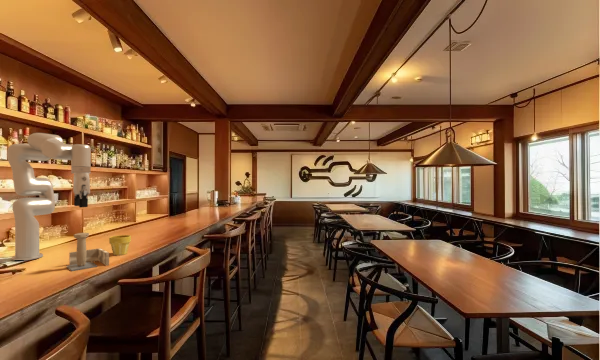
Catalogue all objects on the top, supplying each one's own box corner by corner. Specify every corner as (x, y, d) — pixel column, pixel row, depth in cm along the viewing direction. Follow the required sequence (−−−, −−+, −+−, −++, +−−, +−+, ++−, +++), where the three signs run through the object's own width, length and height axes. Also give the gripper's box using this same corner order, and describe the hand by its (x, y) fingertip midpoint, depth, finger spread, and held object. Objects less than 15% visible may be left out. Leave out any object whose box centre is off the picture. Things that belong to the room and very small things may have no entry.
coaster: (66, 267, 145) (66, 265, 145) (91, 262, 152) (91, 261, 152) (71, 271, 138) (71, 270, 138) (97, 266, 145) (97, 265, 145)
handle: (71, 267, 142) (71, 235, 142) (81, 263, 148) (81, 232, 148) (81, 267, 142) (81, 235, 142) (91, 263, 148) (91, 232, 148)
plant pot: (119, 251, 177) (119, 234, 177) (135, 252, 175) (135, 235, 175) (104, 255, 167) (104, 237, 167) (121, 256, 164) (121, 238, 164)
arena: (69, 264, 148) (69, 252, 148) (100, 259, 158) (100, 248, 158) (76, 270, 139) (76, 257, 139) (109, 265, 148) (109, 252, 148)
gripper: (95, 170, 143) (95, 207, 143) (85, 170, 155) (85, 204, 155) (75, 170, 137) (75, 208, 137) (67, 170, 149) (67, 205, 149)
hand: (80, 206), depth 146 cm, fingers open, 9 cm apart
